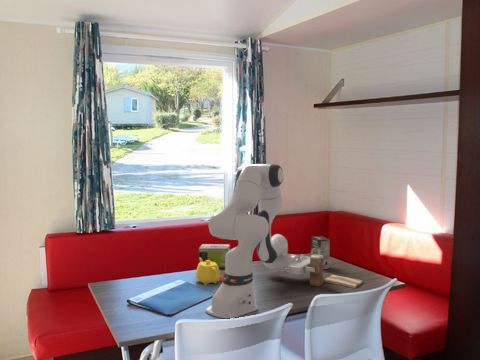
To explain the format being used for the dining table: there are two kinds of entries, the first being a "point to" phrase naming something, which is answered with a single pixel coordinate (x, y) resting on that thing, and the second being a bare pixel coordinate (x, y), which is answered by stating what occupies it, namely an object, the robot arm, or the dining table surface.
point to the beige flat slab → (343, 281)
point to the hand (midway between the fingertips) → (318, 268)
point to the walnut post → (316, 276)
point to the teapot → (207, 272)
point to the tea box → (215, 254)
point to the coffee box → (321, 249)
